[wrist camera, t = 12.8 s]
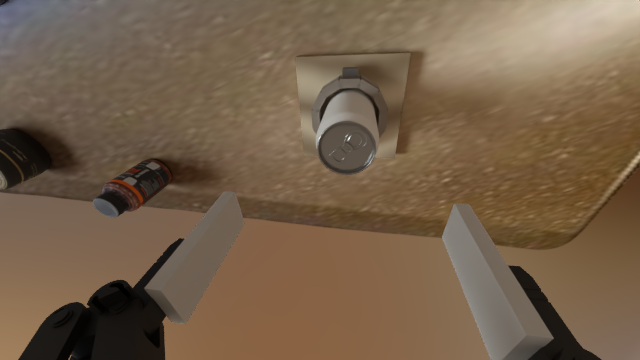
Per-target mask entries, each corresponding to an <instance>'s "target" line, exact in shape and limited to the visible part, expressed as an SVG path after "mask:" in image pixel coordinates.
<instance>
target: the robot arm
mask: <svg viewBox="0 0 640 360" xmlns="http://www.w3.org/2000/svg"><path fill="white" fill-rule="evenodd" d="M5 1H6V0H0V5H1V4H2V3H4V2H5ZM244 224H245V223H244V220H243V216H242V213H241V210H240V207H239V204H238V200H237V197H236V194H235V192H223V193H222V195H221V196H220V197H219V198H218V199H217V201H216V202H215V203H214V204H213V205H212V207H211V208H210V209H209V210H208V212H207V213H206V214H205V215H204V216H203V218H202V219H201V220H200V221H199V223H198V224H197V225H196V226H195V227H194V228H193V230H192V231H191V232H190V233H189V235H188V236H187V237H186V238H185V239H181V238H180V239H178V240H177V241H176V242H174V243H173V244H171V245H170V246H169V247H168V248H167V250H166V251H165V252H164V253H163V255H162V256H160V258H159V259H158V260H157V262H156V263H154V264H153V266H152V267H151V268H150V269H149V270H148V271H147V272H146V274H145V275H144V276H143V277H142V278H141V279H140V281H139V282H138V283H137V284H136V285H135V286H134V287H133V288H132V287H131V286H130V285H129V284H128V283H127V282H126V281H124V280H116V281H113V282H110V283H108V284H106V285H104V286H102V287H101V288H100V289H99V290H97V291H96V292H95V293H94V294H93V295H92V296H91V297H90V299H89V301H88V303H87V305H88V306H89V308H86V307H85V306H84V305H83V304H82V303H79V302H74V303H69V304H67V305H64V306H62V307H61V308H59V309H58V310H56V311H54V312H53V313H52V314H51V315H50V316H48V317H47V318H46V320H45V321H44V322H43V323H42V324H41V326H40V327H39V329H38V331H37V332H36V334H35V335H34V337H33V338H32V340H31V341H30V343H29V344H28V346H27V347H26V349H25V350H24V352H23V353H22V355H21V356H20V358H19V359H18V360H68V358H69V357H70V355H72V356H71V358H70V360H165V346H164V326H163V323H162V321H163V320H164V318H165V317H166V316H167V317H168V318H169V320H170V321H171V322H176V323H183V324H186V323H187V322H188V320H189V318H190V316H191V315H192V313H193V311H194V310H195V308H196V306H197V304H198V303H199V301H200V299H201V298H202V296H203V294H204V292H205V291H206V289H207V287H208V286H209V284H210V282H211V280H212V279H213V277H214V275H215V274H216V272H217V270H218V268H219V267H220V265H221V263H222V262H223V260H224V258H225V256H226V255H227V253H228V251H229V249H230V248H231V246H232V244H233V243H234V241H235V239H236V238H237V236H238V234H239V232H240V231H241V229H242V227H243V225H244ZM442 239H443V241H444V244H445V246H446V249H447V251H448V254H449V256H450V259H451V261H452V264H453V266H454V269H455V271H456V274H457V276H458V279H459V281H460V284H461V286H462V289H463V291H464V294H465V296H466V299H467V301H468V304H469V306H470V309H471V311H472V314H473V316H474V319H475V321H476V324H477V326H478V329H479V331H480V334H481V336H482V339H483V341H484V344H485V346H486V349H487V351H488V354H489V356H490V359H491V360H601V359H600V358H598V357H597V356H596V355H594V354H593V353H591V352H589V351H587V350H585V349H583V348H582V347H581V346H580V344H579V343H578V342H577V341H576V339H575V338H574V336H573V335H572V333H571V332H570V330H569V329H568V328H567V326H566V325H565V323H564V322H563V320H562V319H561V318H560V316H559V315H558V313H557V312H556V310H555V309H554V308H553V306H552V305H551V303H549V302H548V299H547V298H546V296H545V295H544V293H543V292H541V289H540V288H539V286H538V285H537V283H536V282H535V280H534V279H533V278H532V277H531V276H530V275H529V274H528V273H527V272H526V271H524V270H523V269H522V268H521V267H520V266H508V265H507V264H506V262H505V260H504V259H503V257H502V255H501V254H500V252H499V251H498V249H497V248H496V246H495V244H494V243H493V241H492V240H491V238H490V237H489V235H488V233H487V232H486V230H485V229H484V227H483V225H482V224H481V222H480V221H479V219H478V218H477V216H476V214H475V213H474V211H473V210H472V208H471V206H470V205H469V204H457V203H454V205H453V208H452V211H451V214H450V217H449V219H448V222H447V225H446V228H445V230H444V233H443V236H442Z"/></svg>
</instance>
